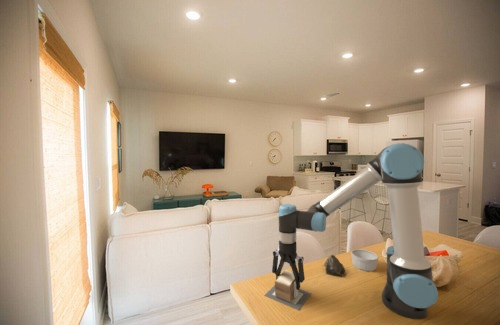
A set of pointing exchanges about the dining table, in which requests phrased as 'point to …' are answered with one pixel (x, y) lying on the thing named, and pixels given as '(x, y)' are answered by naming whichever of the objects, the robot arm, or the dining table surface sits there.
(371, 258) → the ramekin
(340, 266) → the dark grey rock
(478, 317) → the dining table surface
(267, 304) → the dining table surface
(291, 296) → the card box
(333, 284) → the dining table surface
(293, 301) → the mat
